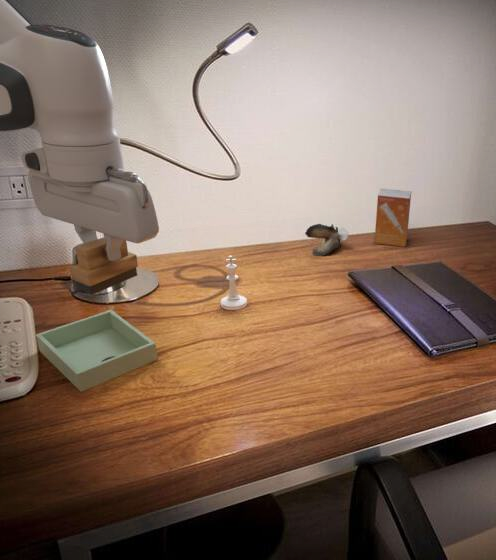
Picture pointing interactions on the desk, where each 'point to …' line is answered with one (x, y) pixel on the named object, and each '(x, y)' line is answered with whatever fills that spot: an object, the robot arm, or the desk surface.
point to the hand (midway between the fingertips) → (103, 256)
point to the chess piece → (233, 289)
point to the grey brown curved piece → (326, 237)
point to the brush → (101, 267)
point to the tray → (96, 349)
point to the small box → (392, 217)
